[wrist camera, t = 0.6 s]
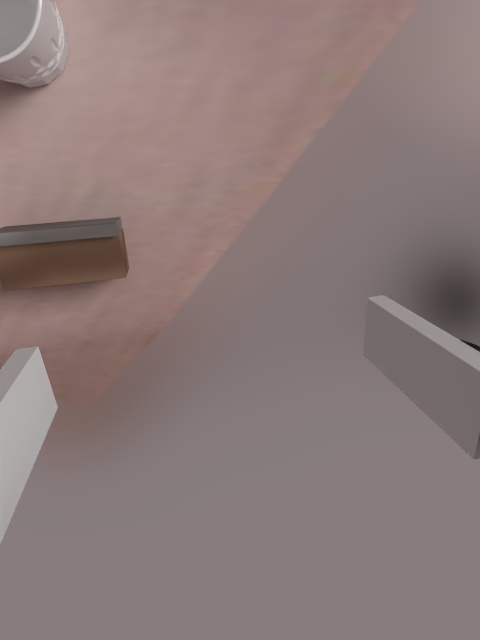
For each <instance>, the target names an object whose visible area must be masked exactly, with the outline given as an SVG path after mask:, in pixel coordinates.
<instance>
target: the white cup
mask: <svg viewBox="0 0 480 640" xmlns="http://www.w3.org/2000/svg"><path fill="white" fill-rule="evenodd" d="M68 54H69V48H68V40H67V32H66V28H65V26H64V24H63V22H62V20H61V18H60V14H59V11H58V9H57V6H56V4H55V2H54V0H0V79H1V80H4V81H7V82H11V83H15V84H18V85H22V86H25V87H29V88H33V87H38V86H43V85H48V84H50V83H51V82H52V81H53V80H54V79H55V78H56V77H58V76H59V75H60V74H61V73H62V72H63V70H64V67H65V63H66V60H67V57H68Z"/></svg>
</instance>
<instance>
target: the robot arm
mask: <svg viewBox="0 0 480 640" xmlns="http://www.w3.org/2000/svg"><path fill="white" fill-rule="evenodd" d="M364 356H365V357H366V358H367V359H368V360H369V361H370V362H371V363H372V364H373V365H374V366H376V368H378V369H379V370H380V371H381V372H382V373H383V374H384V375H385V376H386V377H387V378H388V379H389V380H390V381H391V382H392V383H394V385H396V386H397V387H398V388H399V389H400V390H401V391H402V392H403V393H404V394H405V395H406V396H407V397H408V398H409V399H410V400H411V401H413V402H414V403H415V404H416V405H417V406H418V407H419V408H420V409H421V410H422V411H423V412H424V413H425V414H426V415H427V416H428V417H429V418H430V419H432V420H433V421H434V422H435V423H436V424H437V425H438V426H439V427H440V428H441V429H442V430H443V431H444V432H445V433H446V434H448V435H449V436H450V437H451V438H452V439H453V440H454V441H455V442H456V443H457V444H458V445H459V446H460V447H461V448H462V449H463V450H465V452H466V453H468V454H469V455H470V456H471V457H472V458H473V459H478V458H480V347H479V346H477V345H475V344H472V343H469V342H466V341H463V340H458V339H457V338H455V337H453V336H452V335H450V334H448V333H447V332H445V331H443V330H442V329H440V328H438V327H436V326H435V325H433V324H431V323H430V322H428V321H426V320H425V319H423V318H421V317H420V316H418V315H416V314H414V313H413V312H411V311H409V310H408V309H406V308H404V307H402V306H401V305H399V304H398V303H396V302H394V301H392V300H391V299H389V298H387V297H386V296H384V295H383V296H376V297H369V298H367V306H366V324H365V343H364ZM57 408H58V407H57V404H56V401H55V398H54V394H53V391H52V388H51V385H50V382H49V379H48V376H47V373H46V370H45V366H44V363H43V360H42V357H41V354H40V351H39V348H38V346H36V347H30V348H23V349H16V350H15V352H14V353H13V354H12V355H11V357H10V358H9V359H8V361H7V362H6V363H5V364H4V366H3V367H2V368H1V370H0V544H1V541H2V539H3V537H4V534H5V532H6V529H7V527H8V525H9V522H10V520H11V518H12V515H13V513H14V510H15V508H16V506H17V503H18V501H19V499H20V496H21V494H22V491H23V489H24V487H25V484H26V482H27V479H28V477H29V475H30V472H31V470H32V467H33V465H34V463H35V460H36V458H37V456H38V453H39V451H40V448H41V446H42V444H43V441H44V439H45V437H46V434H47V432H48V429H49V427H50V425H51V422H52V420H53V418H54V415H55V413H56V411H57Z"/></svg>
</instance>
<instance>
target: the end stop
mask: <svg viewBox="0 0 480 640" xmlns="http://www.w3.org/2000/svg"><path fill="white" fill-rule="evenodd" d="M128 270H129V263H128V257H127V251H126V246H125V240H124V234H123V228H122V222H121V217H118V218H105V219H93V220H81V221H69V222H57V223H44V224H32V225H20V226H8V227H3V228H1V229H0V277H1V280H2V284H3V287H4V290H15V289H24V288H34V287H43V286H53V285H62V284H72V283H81V282H90V281H100V280H109V279H119V278H126V276H127V273H128Z"/></svg>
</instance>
